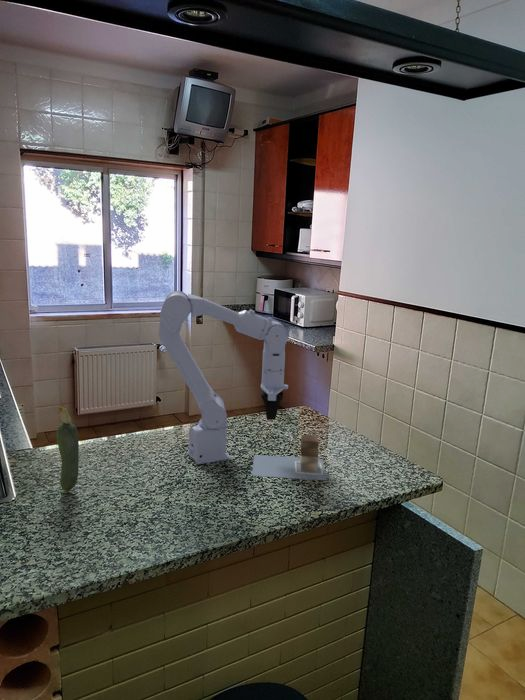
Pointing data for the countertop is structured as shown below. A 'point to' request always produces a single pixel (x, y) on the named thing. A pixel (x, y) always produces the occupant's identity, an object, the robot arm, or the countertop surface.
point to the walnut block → (309, 445)
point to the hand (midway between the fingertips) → (271, 418)
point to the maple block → (309, 464)
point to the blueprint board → (285, 468)
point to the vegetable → (68, 450)
